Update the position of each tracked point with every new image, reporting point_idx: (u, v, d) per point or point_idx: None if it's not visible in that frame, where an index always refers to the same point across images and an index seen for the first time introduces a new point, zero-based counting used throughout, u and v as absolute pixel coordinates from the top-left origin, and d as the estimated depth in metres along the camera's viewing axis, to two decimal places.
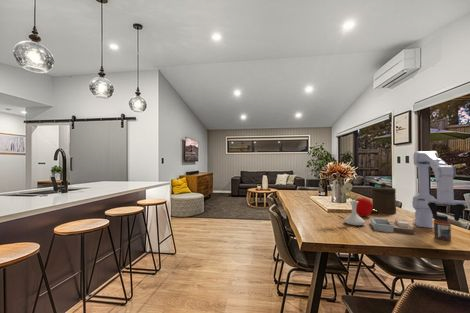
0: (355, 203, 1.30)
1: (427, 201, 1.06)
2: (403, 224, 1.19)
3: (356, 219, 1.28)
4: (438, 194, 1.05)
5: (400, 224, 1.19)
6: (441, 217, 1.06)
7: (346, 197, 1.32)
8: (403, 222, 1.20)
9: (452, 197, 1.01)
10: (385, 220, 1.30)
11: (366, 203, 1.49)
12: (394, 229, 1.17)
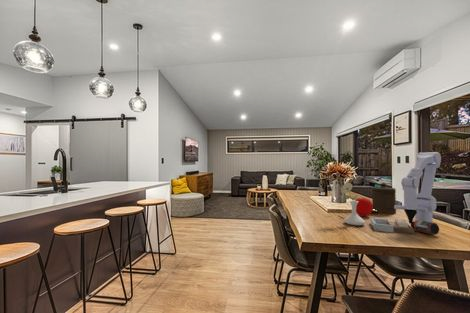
0: (355, 203, 1.30)
1: (395, 207, 1.25)
2: (403, 224, 1.19)
3: (356, 219, 1.28)
4: (404, 201, 1.24)
5: (400, 224, 1.19)
6: (412, 223, 1.21)
7: (346, 197, 1.32)
8: (403, 222, 1.20)
9: (415, 204, 1.20)
10: (385, 220, 1.30)
11: (366, 203, 1.49)
12: (394, 229, 1.17)
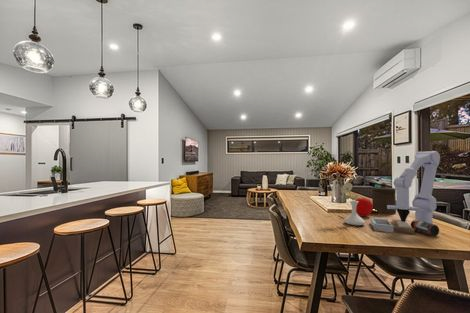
0: (355, 203, 1.30)
1: (388, 207, 1.26)
2: (403, 224, 1.19)
3: (356, 219, 1.28)
4: (397, 201, 1.25)
5: (400, 224, 1.19)
6: (411, 223, 1.20)
7: (346, 197, 1.32)
8: (403, 222, 1.20)
9: (407, 204, 1.22)
10: (385, 220, 1.30)
11: (366, 203, 1.49)
12: (394, 229, 1.17)
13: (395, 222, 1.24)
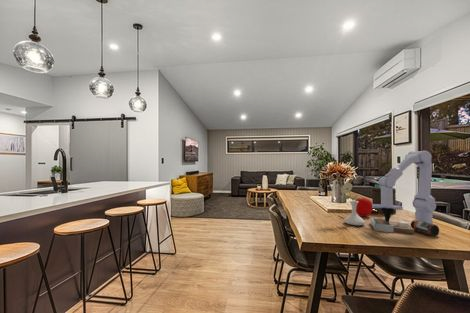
0: (355, 203, 1.30)
1: (373, 206, 1.30)
2: (403, 224, 1.19)
3: (356, 219, 1.28)
4: (381, 200, 1.28)
5: (400, 224, 1.19)
6: (411, 223, 1.20)
7: (346, 197, 1.32)
8: (403, 222, 1.20)
9: (391, 203, 1.25)
10: None
11: (366, 203, 1.49)
12: (394, 229, 1.17)
13: None
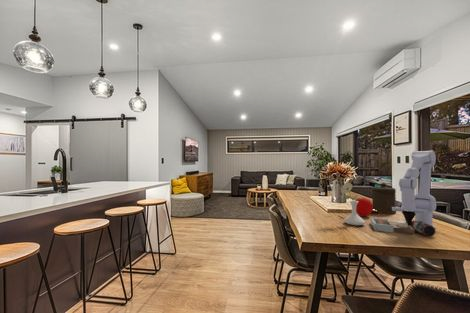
0: (355, 203, 1.30)
1: (393, 209, 1.21)
2: (402, 224, 1.19)
3: (356, 219, 1.28)
4: (402, 203, 1.20)
5: (399, 224, 1.19)
6: None
7: (346, 197, 1.32)
8: (402, 222, 1.20)
9: (413, 206, 1.17)
10: (385, 220, 1.30)
11: (366, 203, 1.49)
12: (394, 229, 1.17)
13: None
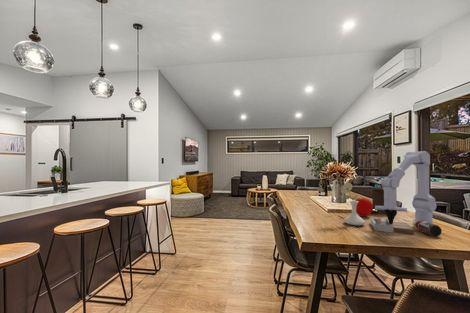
0: (355, 203, 1.30)
1: (376, 208, 1.25)
2: None
3: (356, 219, 1.28)
4: (384, 202, 1.23)
5: None
6: (417, 222, 1.20)
7: (346, 197, 1.32)
8: (381, 223, 1.24)
9: (395, 205, 1.20)
10: (385, 220, 1.30)
11: (366, 203, 1.49)
12: (394, 229, 1.17)
13: None
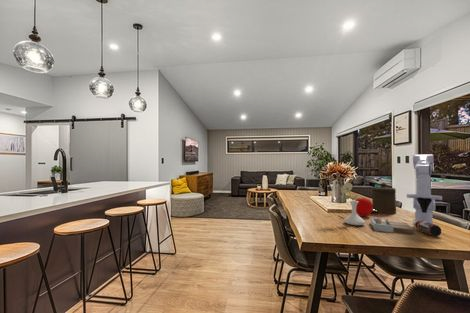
0: (355, 203, 1.30)
1: (408, 196, 1.20)
2: None
3: (356, 219, 1.28)
4: (417, 190, 1.19)
5: None
6: (417, 222, 1.20)
7: (346, 197, 1.32)
8: (381, 223, 1.24)
9: (429, 192, 1.16)
10: (385, 220, 1.30)
11: (366, 203, 1.49)
12: (394, 229, 1.17)
13: None
